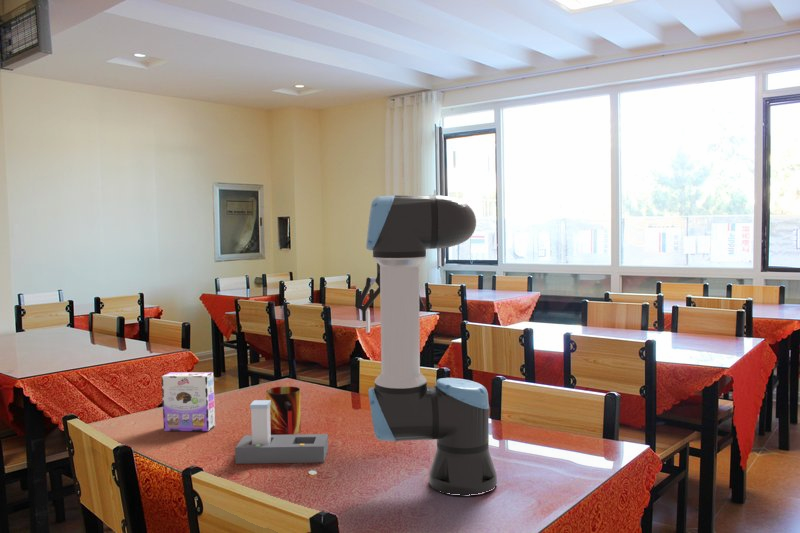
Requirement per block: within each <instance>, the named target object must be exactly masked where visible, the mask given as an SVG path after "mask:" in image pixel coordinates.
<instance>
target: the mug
mask: <svg viewBox="0 0 800 533" xmlns="http://www.w3.org/2000/svg"><path fill="white" fill-rule="evenodd" d="M265 394H266V398H265V400H271V405H270V424H271V435H294V434H298V433H300V432H301V431H302V420H301V419H302V416H301V415H302V414H301V389H300V387H298V386H291V385H290V386H288V385H287V386H286V385H285V386H283V385H282V386H274V387H271V388H268V389H266V392H265Z"/></svg>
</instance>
